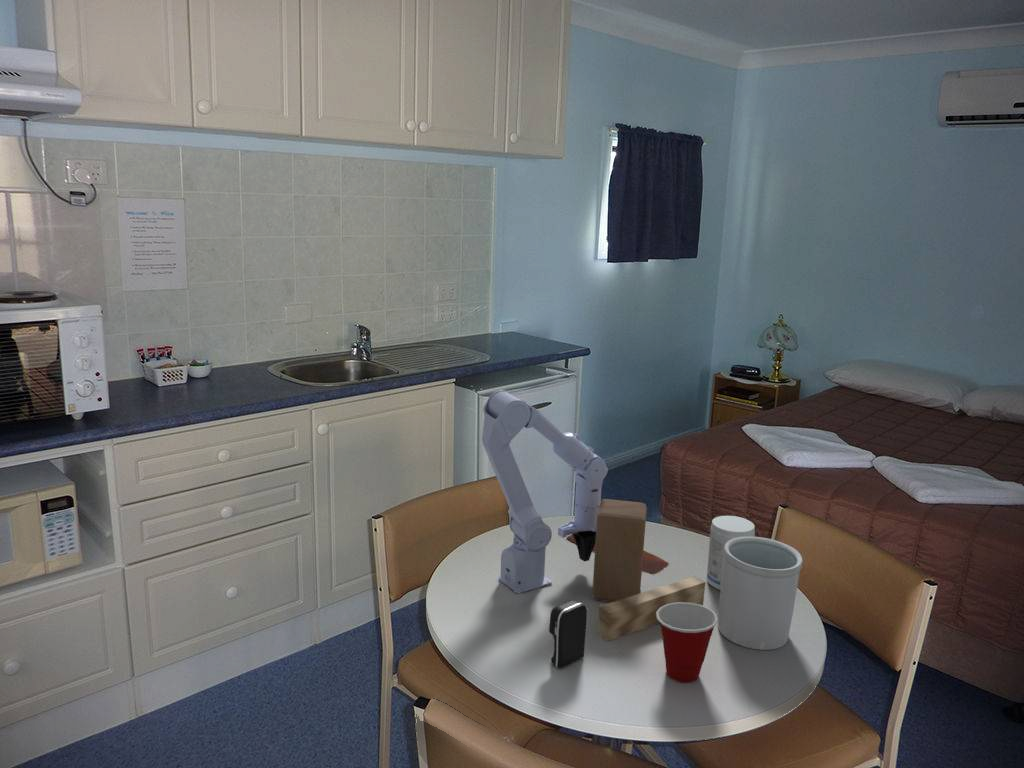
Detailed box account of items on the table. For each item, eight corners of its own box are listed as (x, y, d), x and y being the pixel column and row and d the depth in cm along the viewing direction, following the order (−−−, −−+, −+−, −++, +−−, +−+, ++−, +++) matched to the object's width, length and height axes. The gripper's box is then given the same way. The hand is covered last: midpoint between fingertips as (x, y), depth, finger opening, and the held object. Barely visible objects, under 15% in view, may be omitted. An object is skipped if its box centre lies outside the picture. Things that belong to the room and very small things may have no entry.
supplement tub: (750, 578, 181) (757, 519, 178) (748, 597, 172) (755, 535, 169) (707, 570, 184) (713, 512, 181) (703, 589, 176) (709, 527, 172)
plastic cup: (669, 649, 151) (674, 592, 149) (721, 672, 145) (728, 613, 142) (640, 673, 143) (644, 614, 141) (693, 699, 137) (700, 637, 134)
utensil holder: (799, 626, 161) (809, 547, 157) (783, 661, 149) (794, 576, 145) (727, 606, 169) (735, 530, 164) (706, 637, 156) (714, 556, 152)
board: (607, 641, 154) (609, 613, 152) (597, 633, 156) (599, 606, 155) (702, 607, 167) (705, 581, 166) (692, 601, 170) (695, 576, 168)
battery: (571, 648, 151) (574, 594, 148) (585, 657, 148) (589, 602, 145) (544, 661, 146) (547, 605, 143) (558, 671, 143) (562, 614, 141)
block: (638, 607, 167) (645, 519, 162) (591, 601, 169) (596, 513, 164) (640, 585, 176) (647, 501, 172) (596, 579, 178) (601, 496, 174)
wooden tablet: (563, 541, 199) (563, 535, 198) (589, 530, 206) (589, 524, 205) (650, 579, 180) (650, 572, 180) (675, 566, 187) (675, 559, 187)
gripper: (572, 516, 171) (569, 573, 174) (623, 504, 179) (619, 559, 182) (553, 505, 177) (550, 560, 180) (603, 494, 185) (600, 547, 188)
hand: (584, 559), depth 181 cm, fingers closed
